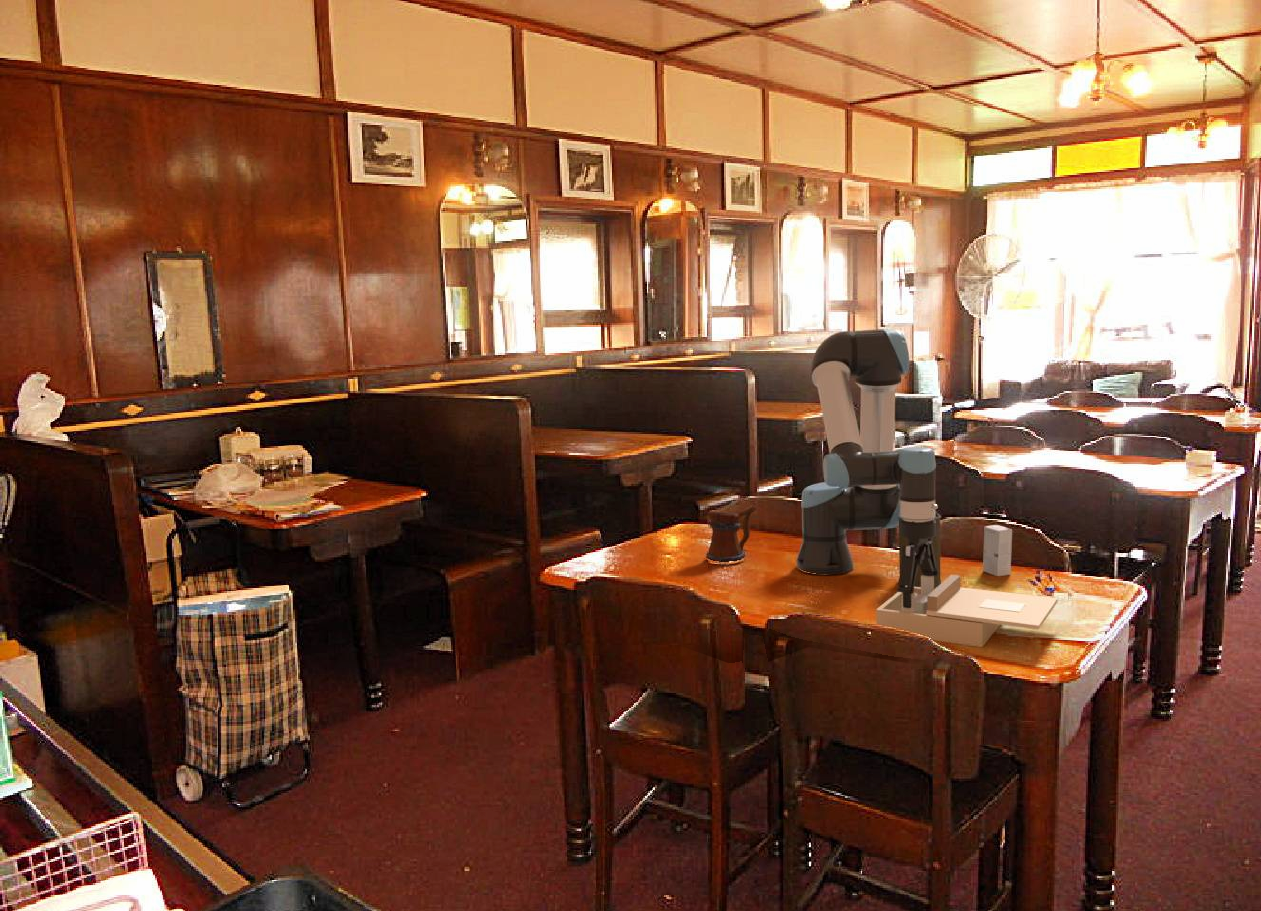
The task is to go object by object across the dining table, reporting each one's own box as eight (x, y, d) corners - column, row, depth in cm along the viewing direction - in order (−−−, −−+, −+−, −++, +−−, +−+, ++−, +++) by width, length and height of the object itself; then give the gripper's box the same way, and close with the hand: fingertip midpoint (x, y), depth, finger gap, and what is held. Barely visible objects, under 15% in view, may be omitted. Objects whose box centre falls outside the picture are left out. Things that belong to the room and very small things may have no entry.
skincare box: (982, 571, 244) (982, 526, 242) (996, 569, 245) (996, 524, 243) (997, 577, 238) (998, 530, 236) (1012, 574, 239) (1012, 528, 238)
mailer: (876, 631, 202) (876, 609, 201) (905, 606, 218) (905, 585, 217) (982, 647, 189) (982, 623, 189) (1004, 619, 206) (1004, 597, 205)
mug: (741, 549, 280) (739, 500, 278) (769, 555, 271) (768, 505, 269) (697, 561, 269) (695, 510, 267) (725, 568, 260) (723, 515, 258)
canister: (919, 590, 230) (918, 511, 227) (889, 581, 239) (888, 504, 236) (951, 583, 235) (951, 505, 232) (921, 574, 244) (920, 499, 241)
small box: (938, 618, 206) (938, 597, 205) (922, 624, 202) (922, 603, 202) (915, 613, 210) (915, 592, 209) (900, 619, 207) (900, 597, 206)
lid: (925, 614, 195) (925, 597, 194) (952, 589, 211) (952, 573, 211) (1038, 629, 183) (1038, 610, 182) (1057, 601, 199) (1057, 584, 198)
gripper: (917, 531, 191) (917, 631, 194) (951, 508, 211) (951, 599, 214) (881, 528, 195) (882, 626, 198) (917, 506, 215) (918, 595, 218)
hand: (918, 612), depth 206 cm, fingers open, 13 cm apart
